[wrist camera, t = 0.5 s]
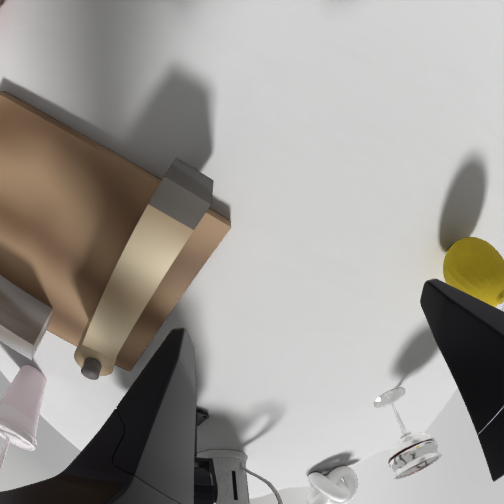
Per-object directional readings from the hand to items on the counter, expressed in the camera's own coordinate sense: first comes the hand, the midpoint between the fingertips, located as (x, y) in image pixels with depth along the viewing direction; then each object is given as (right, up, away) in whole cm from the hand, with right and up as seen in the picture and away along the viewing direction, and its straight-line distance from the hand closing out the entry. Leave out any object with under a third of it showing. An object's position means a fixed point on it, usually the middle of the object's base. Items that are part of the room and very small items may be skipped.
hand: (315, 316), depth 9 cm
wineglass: (+17, -19, +27) cm, 37 cm away
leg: (-10, +1, +11) cm, 15 cm away
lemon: (+16, +2, +15) cm, 22 cm away
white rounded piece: (+14, -45, +42) cm, 63 cm away
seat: (-17, +2, +11) cm, 20 cm away
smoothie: (-29, -13, +19) cm, 37 cm away
